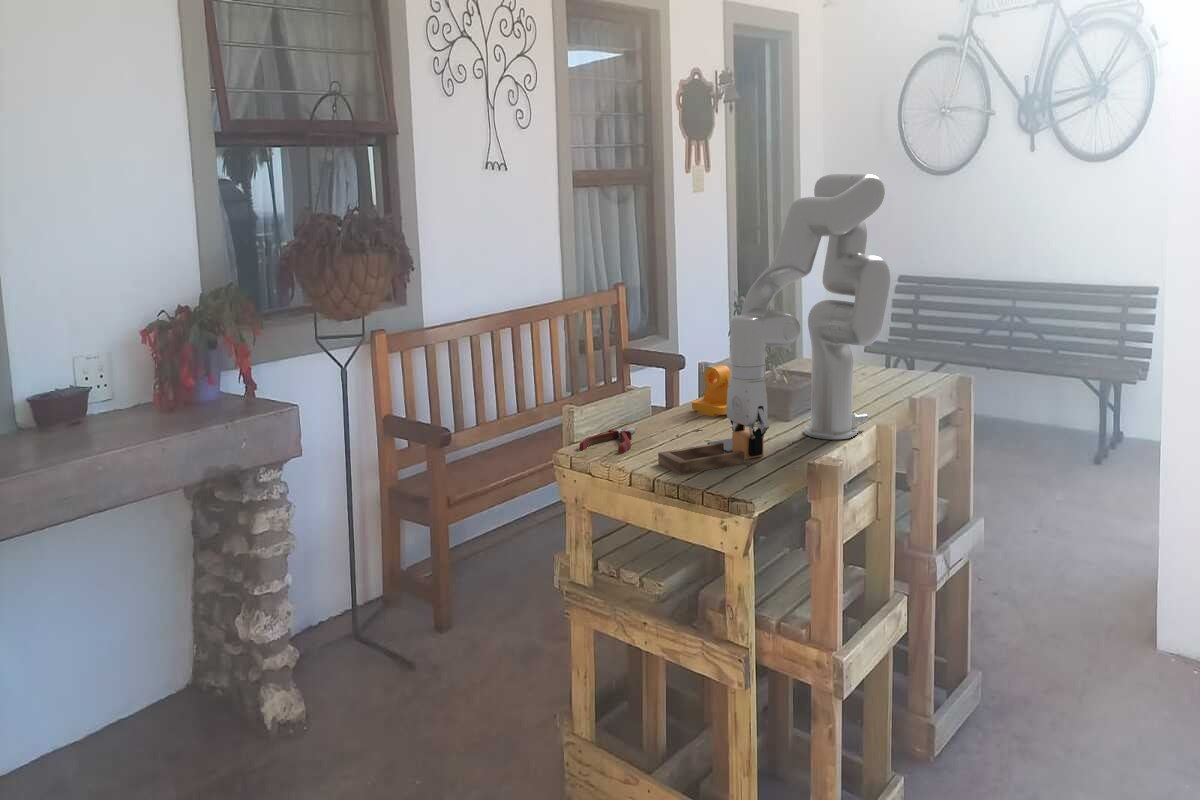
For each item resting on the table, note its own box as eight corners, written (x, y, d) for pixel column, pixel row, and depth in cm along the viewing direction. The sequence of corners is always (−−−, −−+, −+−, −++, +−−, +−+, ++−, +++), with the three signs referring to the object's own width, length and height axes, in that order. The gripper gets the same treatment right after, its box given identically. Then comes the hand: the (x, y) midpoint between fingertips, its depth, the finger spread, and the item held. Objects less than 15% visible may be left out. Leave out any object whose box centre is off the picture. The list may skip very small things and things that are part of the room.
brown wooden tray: (720, 452, 233) (720, 442, 232) (744, 463, 225) (744, 451, 224) (658, 463, 226) (658, 452, 226) (680, 474, 218) (680, 463, 217)
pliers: (653, 434, 253) (653, 423, 252) (624, 456, 235) (623, 445, 234) (609, 431, 257) (609, 420, 256) (577, 452, 239) (577, 441, 238)
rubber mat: (736, 440, 243) (736, 437, 243) (758, 448, 235) (758, 446, 235) (707, 444, 240) (707, 442, 240) (728, 454, 232) (728, 451, 232)
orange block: (751, 450, 234) (751, 429, 233) (763, 456, 229) (763, 434, 228) (732, 453, 232) (732, 431, 231) (743, 459, 228) (743, 437, 227)
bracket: (690, 411, 272) (689, 366, 269) (708, 406, 277) (708, 362, 274) (721, 418, 264) (721, 372, 261) (740, 413, 269) (740, 367, 266)
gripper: (712, 367, 233) (713, 445, 237) (755, 381, 218) (754, 464, 222) (741, 364, 236) (741, 441, 240) (785, 377, 221) (784, 459, 225)
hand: (747, 451), depth 231 cm, fingers open, 5 cm apart
